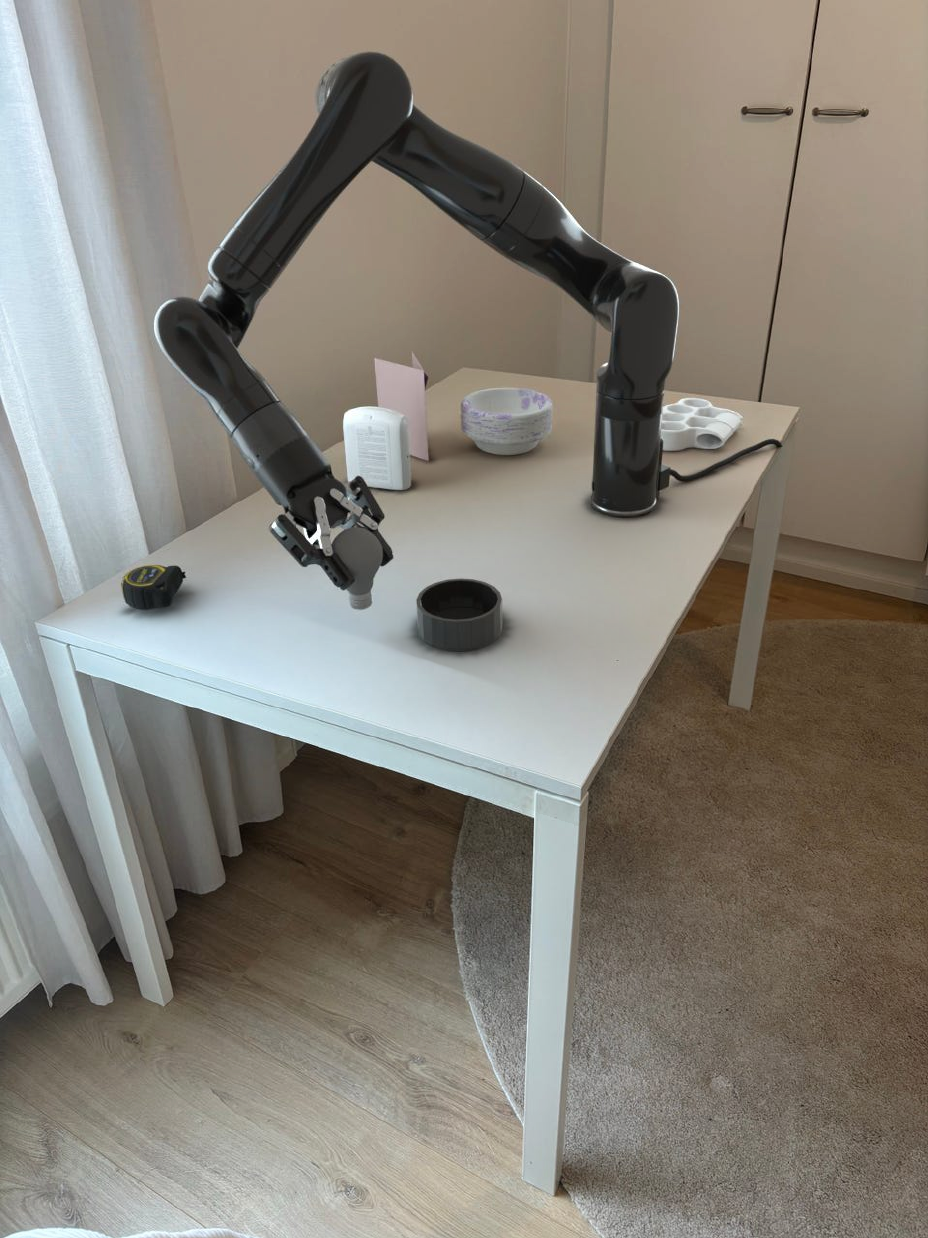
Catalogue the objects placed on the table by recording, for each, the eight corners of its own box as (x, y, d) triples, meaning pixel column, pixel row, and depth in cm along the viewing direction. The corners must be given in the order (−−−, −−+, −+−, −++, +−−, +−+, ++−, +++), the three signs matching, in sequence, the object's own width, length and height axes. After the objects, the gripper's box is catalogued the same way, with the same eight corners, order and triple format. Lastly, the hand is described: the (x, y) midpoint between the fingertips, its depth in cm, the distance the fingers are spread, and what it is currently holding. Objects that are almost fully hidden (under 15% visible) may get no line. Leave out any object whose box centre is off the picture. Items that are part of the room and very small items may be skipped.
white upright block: (415, 482, 149) (411, 405, 142) (406, 493, 145) (401, 414, 139) (355, 476, 151) (347, 400, 145) (344, 486, 148) (336, 409, 141)
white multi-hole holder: (715, 459, 153) (629, 445, 159) (746, 423, 166) (666, 411, 172) (718, 439, 151) (631, 425, 157) (749, 405, 164) (667, 393, 171)
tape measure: (172, 615, 116) (166, 589, 114) (117, 615, 116) (110, 589, 114) (188, 587, 122) (183, 562, 120) (136, 587, 122) (130, 562, 120)
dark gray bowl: (462, 598, 117) (461, 570, 115) (519, 628, 111) (519, 598, 109) (401, 628, 112) (399, 599, 110) (457, 661, 106) (456, 631, 104)
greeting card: (433, 460, 156) (429, 370, 148) (389, 465, 155) (382, 374, 147) (421, 436, 166) (416, 350, 158) (379, 440, 164) (372, 354, 156)
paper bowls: (567, 438, 162) (568, 393, 158) (523, 469, 152) (524, 421, 147) (491, 424, 170) (490, 380, 165) (444, 452, 159) (442, 406, 155)
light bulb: (379, 622, 108) (372, 544, 102) (328, 618, 109) (319, 540, 103) (392, 596, 113) (387, 520, 107) (344, 592, 114) (336, 516, 108)
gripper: (246, 456, 99) (341, 586, 99) (339, 416, 109) (426, 534, 109) (220, 492, 105) (310, 615, 105) (311, 450, 115) (393, 563, 115)
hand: (369, 573), depth 107 cm, fingers closed on light bulb, 6 cm apart
